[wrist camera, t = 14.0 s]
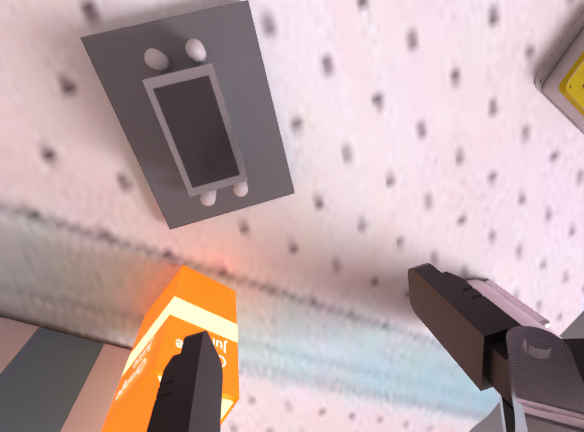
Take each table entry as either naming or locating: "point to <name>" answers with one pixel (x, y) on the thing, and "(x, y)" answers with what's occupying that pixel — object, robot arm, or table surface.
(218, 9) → the pin tray
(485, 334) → the robot arm
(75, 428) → the stereo radio cassette player
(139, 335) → the orange juice
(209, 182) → the grey boxy piece
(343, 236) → the table surface
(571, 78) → the emergency button
